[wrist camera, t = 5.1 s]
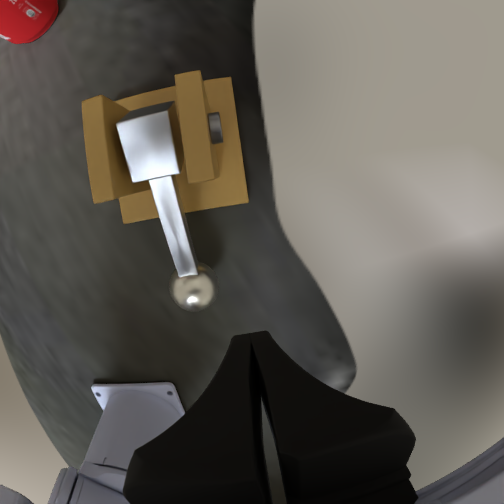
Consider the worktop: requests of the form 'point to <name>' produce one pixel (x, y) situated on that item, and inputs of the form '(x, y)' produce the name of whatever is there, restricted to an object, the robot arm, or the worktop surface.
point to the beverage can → (26, 19)
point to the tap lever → (167, 196)
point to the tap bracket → (194, 144)
